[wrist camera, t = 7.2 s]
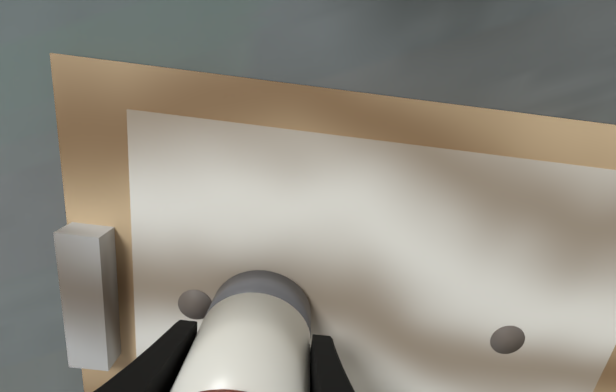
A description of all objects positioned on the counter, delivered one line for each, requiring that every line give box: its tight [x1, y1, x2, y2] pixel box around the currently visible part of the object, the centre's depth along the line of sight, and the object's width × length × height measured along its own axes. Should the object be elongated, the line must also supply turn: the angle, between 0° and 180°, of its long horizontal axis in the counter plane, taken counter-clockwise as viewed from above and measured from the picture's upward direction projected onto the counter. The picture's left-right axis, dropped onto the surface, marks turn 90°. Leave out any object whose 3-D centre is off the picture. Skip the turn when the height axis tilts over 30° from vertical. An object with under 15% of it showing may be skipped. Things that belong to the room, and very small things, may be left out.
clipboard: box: [50, 53, 616, 392], centre depth 14 cm, size 18×24×2 cm
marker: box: [170, 270, 311, 392], centre depth 11 cm, size 4×4×7 cm
